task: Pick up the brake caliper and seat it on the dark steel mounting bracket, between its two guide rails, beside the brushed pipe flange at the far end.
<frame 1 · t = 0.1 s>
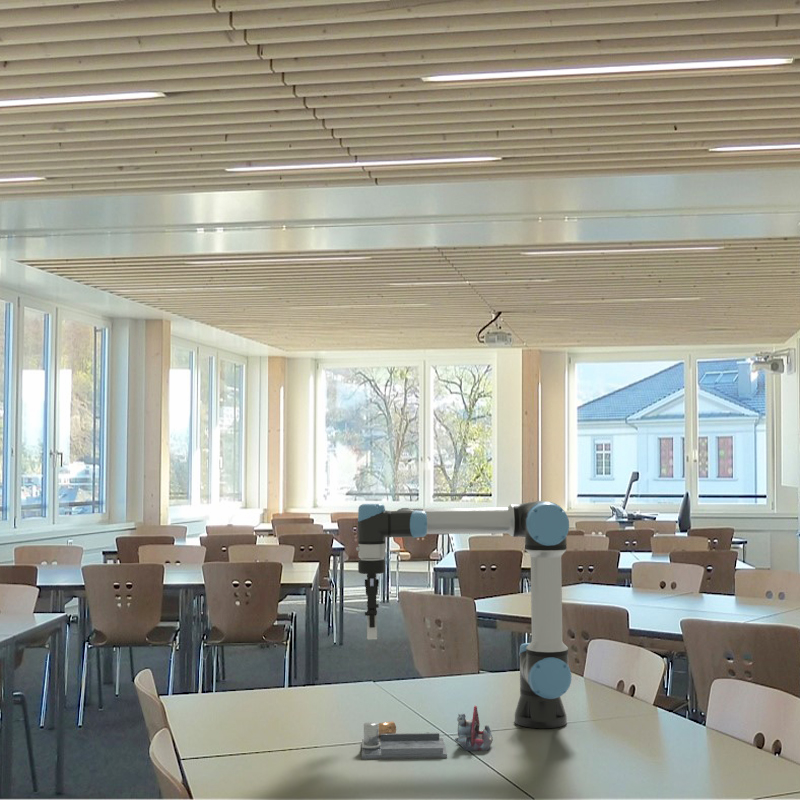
hand: (372, 635, 303), 28 cm above the table, fingers open, 13 cm apart
copper elbow: (383, 735, 303), on the table
brake caliper: (473, 748, 289), on the table
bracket: (403, 750, 287), on the table
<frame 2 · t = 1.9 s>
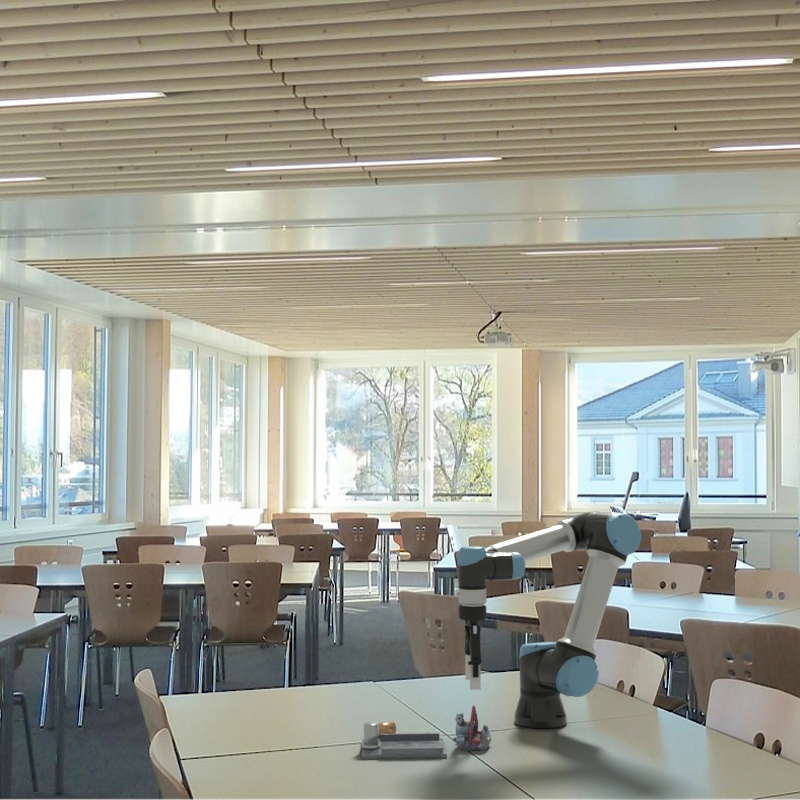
hand: (472, 684, 290), 17 cm above the table, fingers open, 13 cm apart
nothing on the table moved.
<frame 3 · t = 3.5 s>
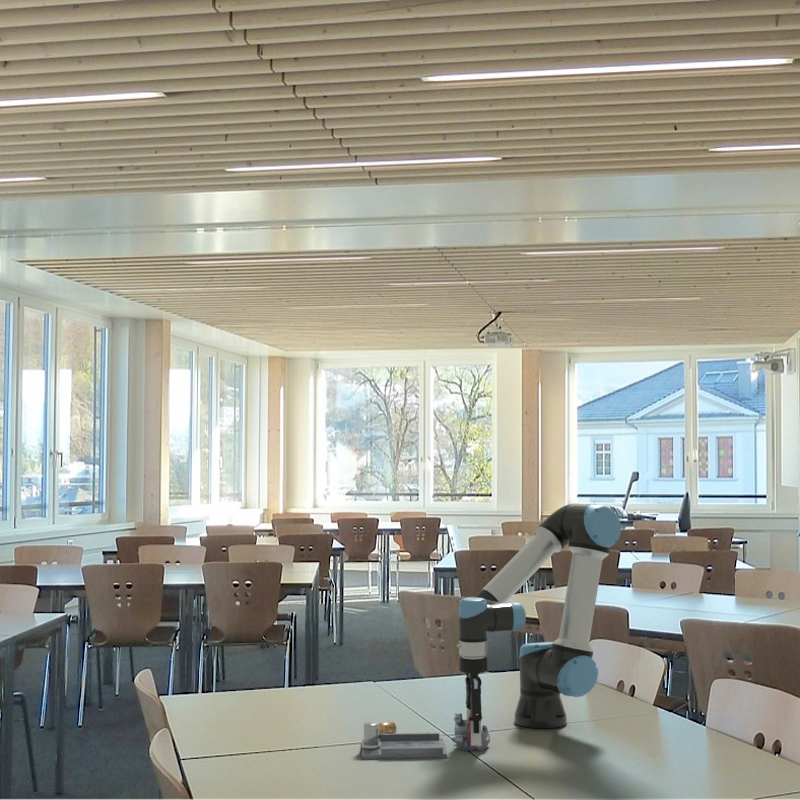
hand: (473, 739, 290), 2 cm above the table, fingers closed on brake caliper, 11 cm apart
brake caliper: (471, 748, 289), on the table, touching gripper
everything else where it was.
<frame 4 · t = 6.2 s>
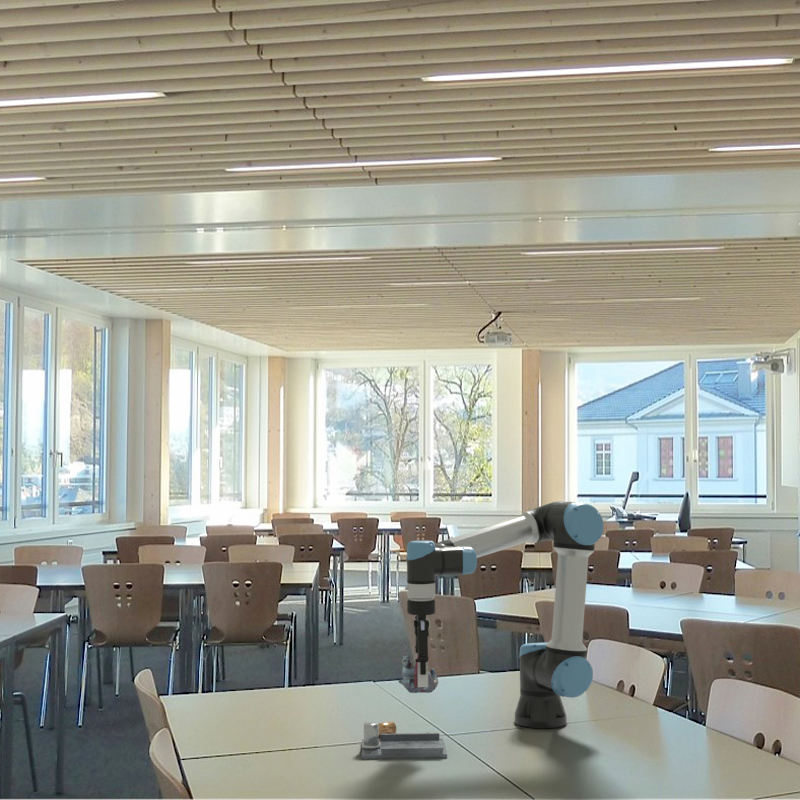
hand: (421, 682, 288), 18 cm above the table, fingers closed on brake caliper, 11 cm apart
brake caliper: (418, 690, 288), point 16 cm above the table, touching gripper
everything else where it was.
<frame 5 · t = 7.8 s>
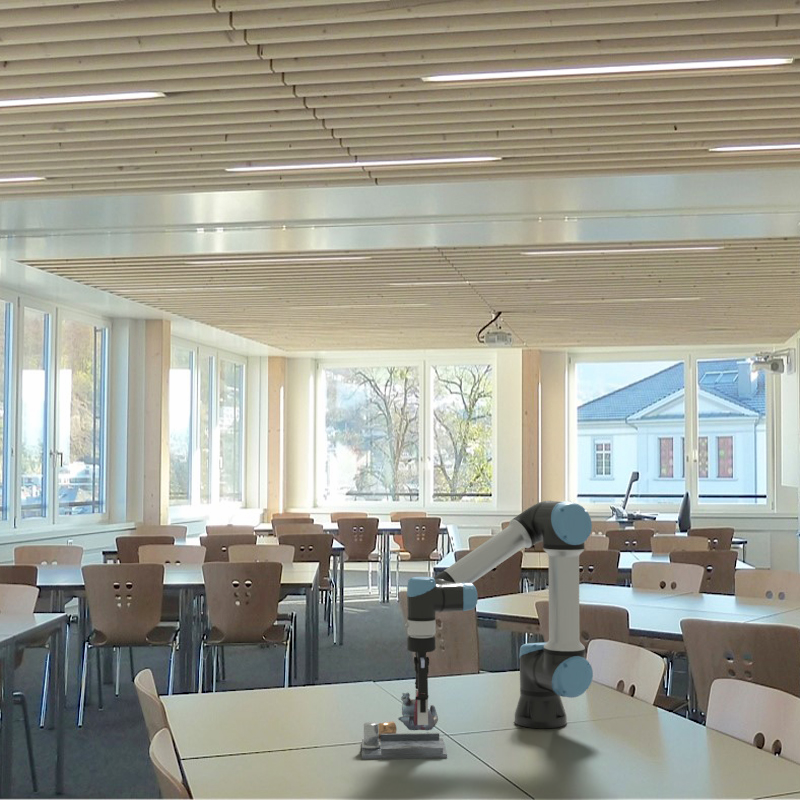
hand: (421, 719, 287), 8 cm above the table, fingers closed on brake caliper, 11 cm apart
brake caliper: (418, 727, 287), point 6 cm above the table, touching gripper
everything else where it was.
when the fingers open (4 cm above the table, at t = 9.2 s): brake caliper drops 1 cm, resting on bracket.
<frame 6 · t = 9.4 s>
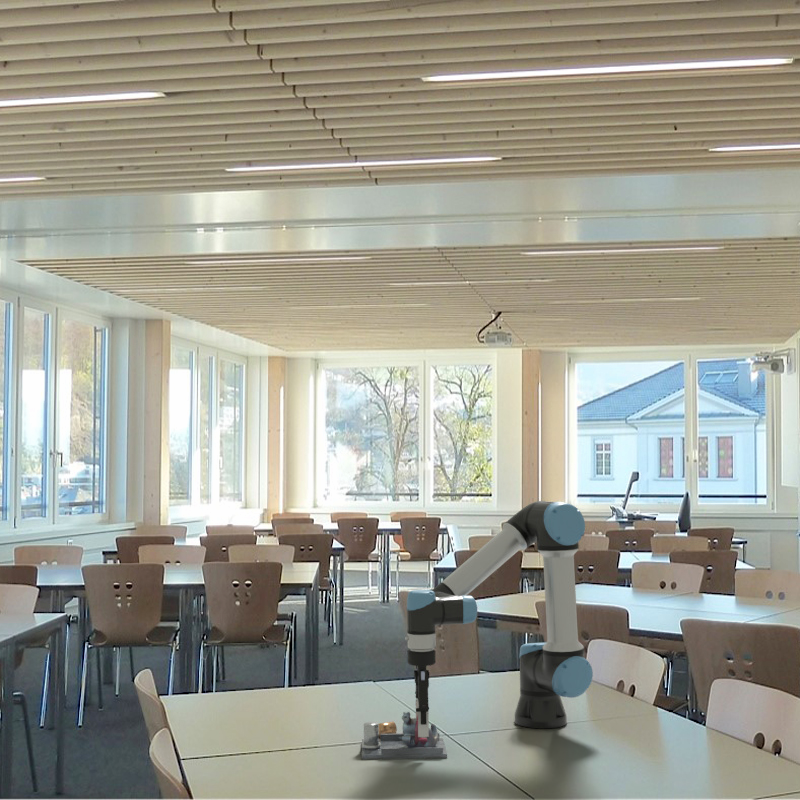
hand: (422, 730, 287), 5 cm above the table, fingers open, 13 cm apart
brake caliper: (419, 747, 287), point 1 cm above the table, touching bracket
everything else where it was.
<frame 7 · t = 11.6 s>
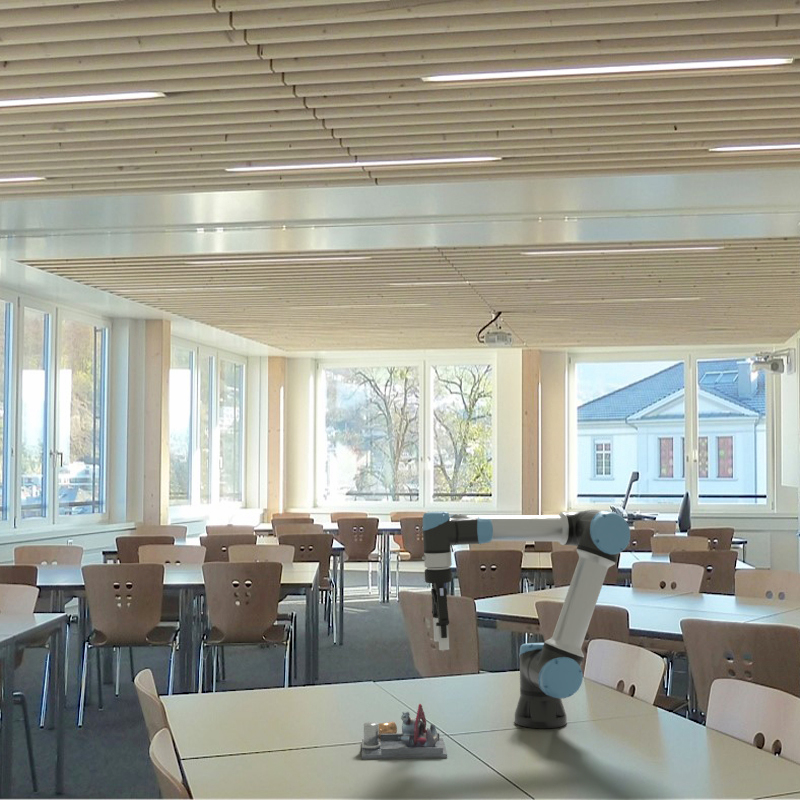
hand: (441, 645, 298), 26 cm above the table, fingers open, 13 cm apart
copper elbow: (383, 735, 303), on the table, tilted 14°
everything else where it was.
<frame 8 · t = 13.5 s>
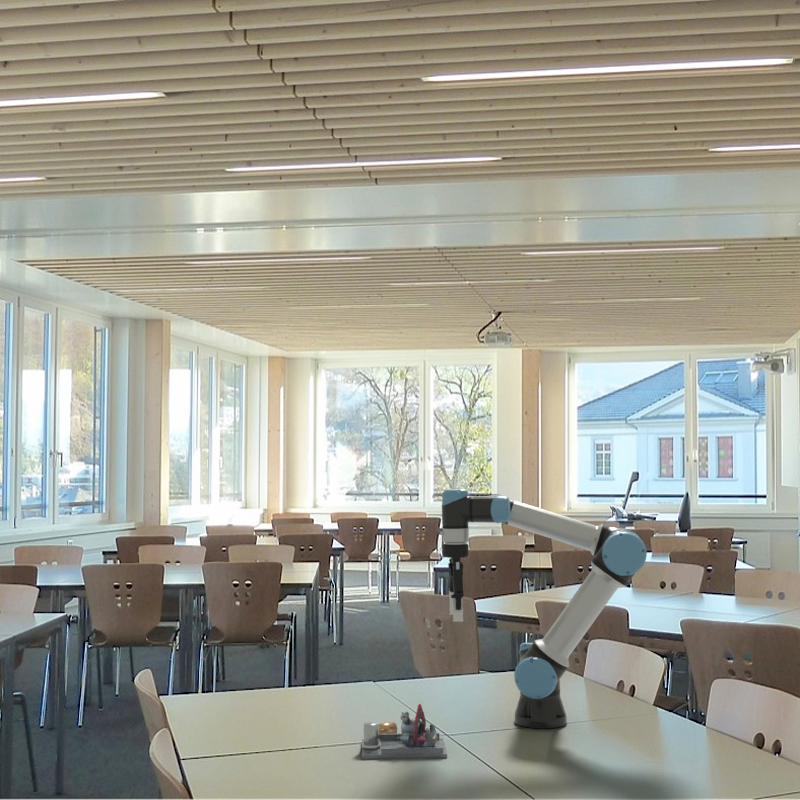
hand: (456, 618, 309), 32 cm above the table, fingers open, 13 cm apart
copper elbow: (383, 735, 303), on the table, tilted 20°
everything else where it was.
at the end: brake caliper inside the target area on the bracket (0.7 cm from its centre), point 0.8 cm above the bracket's base; brake caliper touching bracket; the gripper is holding nothing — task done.
